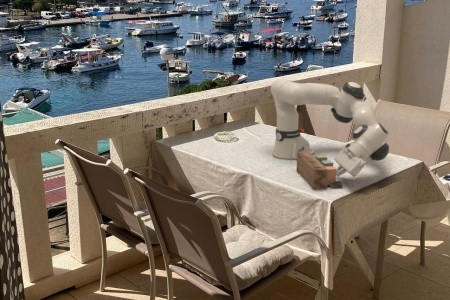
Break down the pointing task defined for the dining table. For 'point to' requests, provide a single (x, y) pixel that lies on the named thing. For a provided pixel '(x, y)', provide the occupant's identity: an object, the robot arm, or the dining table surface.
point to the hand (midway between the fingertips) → (335, 175)
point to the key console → (314, 171)
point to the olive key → (321, 158)
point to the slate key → (327, 163)
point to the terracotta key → (331, 174)
